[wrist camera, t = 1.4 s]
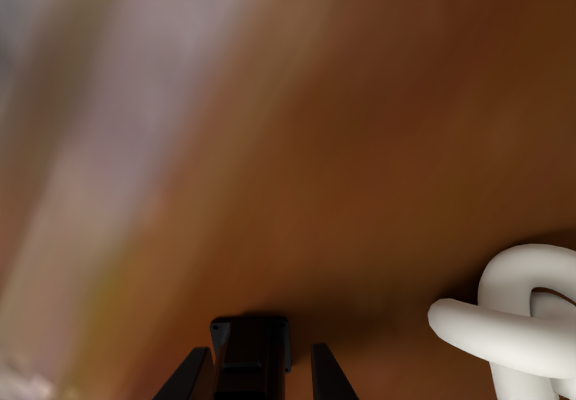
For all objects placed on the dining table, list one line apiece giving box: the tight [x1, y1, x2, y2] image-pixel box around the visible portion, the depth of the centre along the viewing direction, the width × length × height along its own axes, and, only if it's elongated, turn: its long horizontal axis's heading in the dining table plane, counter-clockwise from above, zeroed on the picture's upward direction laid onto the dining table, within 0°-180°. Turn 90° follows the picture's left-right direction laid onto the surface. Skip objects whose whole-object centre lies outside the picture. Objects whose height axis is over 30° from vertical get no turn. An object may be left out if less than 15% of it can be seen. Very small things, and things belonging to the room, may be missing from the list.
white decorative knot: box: [428, 244, 576, 400], centre depth 20 cm, size 11×12×9 cm
